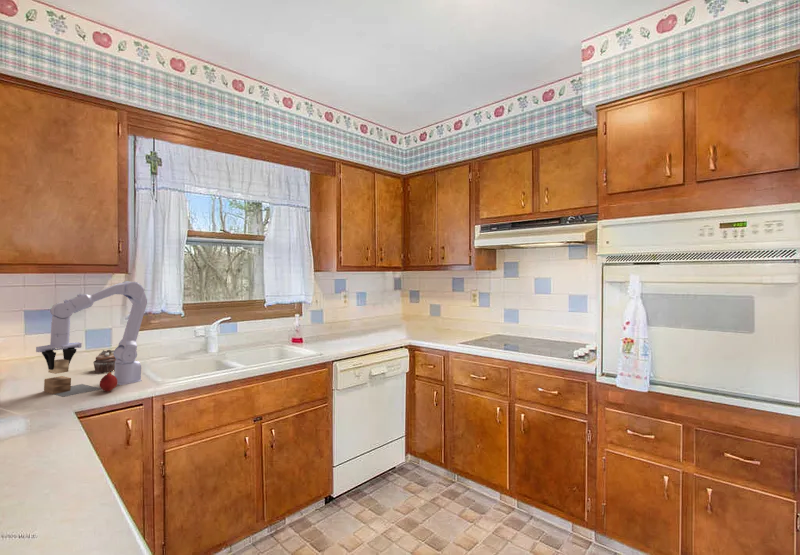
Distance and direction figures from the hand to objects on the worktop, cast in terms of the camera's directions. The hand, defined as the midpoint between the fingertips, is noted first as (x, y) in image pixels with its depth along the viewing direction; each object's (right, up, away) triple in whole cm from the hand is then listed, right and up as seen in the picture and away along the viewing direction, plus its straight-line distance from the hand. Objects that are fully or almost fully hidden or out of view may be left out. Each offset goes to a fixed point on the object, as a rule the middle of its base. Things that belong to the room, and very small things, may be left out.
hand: (58, 368), depth 162 cm
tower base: (0, -9, 0) cm, 9 cm away
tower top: (0, -7, 0) cm, 6 cm away
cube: (0, -2, 0) cm, 2 cm away
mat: (+4, -10, +2) cm, 11 cm away
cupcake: (-8, -10, +37) cm, 39 cm away
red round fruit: (+17, -10, +3) cm, 20 cm away
